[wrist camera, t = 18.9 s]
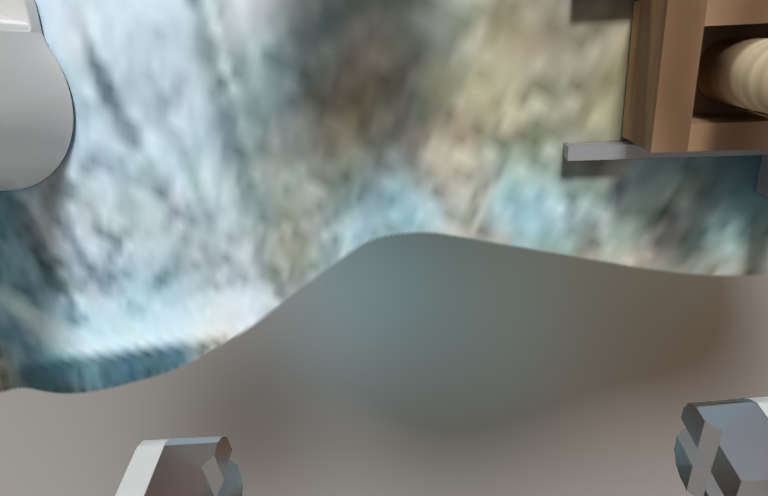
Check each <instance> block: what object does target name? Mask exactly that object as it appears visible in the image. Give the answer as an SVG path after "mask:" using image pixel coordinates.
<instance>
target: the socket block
mask: <svg viewBox="0 0 768 496" xmlns="http://www.w3.org/2000/svg"><path fill="white" fill-rule="evenodd" d="M730 38H768V0H640V1H634V10H633V21H632V32H631V42H630V53H629V64H628V74H627V85H626V96H625V106H624V117H623V128H622V137H624V138H626V139H627V140H629V141H631V142H633V143H634V144H636V145H638V146H640V147H641V148H643V149H645V150H647V151H649V152H650V153H659V152H690V151H722V150H753V149H768V114H767V113H763V112H758V111H754V110H750V109H746V108H741V107H737V106H733V105H729V104H724V103H720V102H716V101H712V100H710V99H708V98H706V97H705V96H703V95H702V94H701V93H700V91H699V90H698V88H697V85H696V84H697V77H698V69H699V62H700V57H701V56H702V55H703V53H704V52H705V51H706V50H707V49H708V48H709V47H711V46H712V45H713V44H715V43H717V42H719V41H721V40H725V39H730Z"/></svg>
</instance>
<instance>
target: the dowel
mask: <svg viewBox="0 0 768 496" xmlns="http://www.w3.org/2000/svg"><path fill="white" fill-rule="evenodd" d="M696 85H697V88H698V90H699V91H700V93H701V94H702V95H703V96H705V97H706V98H708V99H710V100H712V101H716V102H720V103H724V104H729V105H733V106H737V107H741V108H746V109H750V110H754V111H758V112H763V113H767V114H768V38H730V39H725V40H721V41H719V42H717V43H715V44H713V45H712V46H711V47H709V48H708V49H707V50H706V51H705V52H704V53H703V55H702V56H701V57H700V62H699V69H698V77H697V84H696Z"/></svg>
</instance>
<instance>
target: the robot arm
mask: <svg viewBox="0 0 768 496" xmlns="http://www.w3.org/2000/svg"><path fill="white" fill-rule="evenodd" d="M72 131H73V106H72V100H71V95H70V91H69V87H68V84H67V81H66V79H65V76H64V74H63V72H62V69H61V67H60V65H59V63H58V62H57V60H56V58H55V57H54V55H53V53H52V51H51V50H50V48H49V46H48V45H47V43H46V41H45V39H44V37H43V34H42V31H41V26H40V21H39V16H38V12H37V8H36V4H35V1H34V0H0V191H8V190H18V189H23V188H27V187H30V186H33V185H35V184H37V183H39V182H41V181H42V180H44V179H45V178H47V177H48V176H49V175H50V174H52V173H53V172H54V171H55V169H56V168H57V167H58V166H59V165H60V163H61V162H62V160H63V158H64V157H65V155H66V152H67V150H68V148H69V145H70V141H71V137H72ZM681 419H682V421H683V423H684V425H685V427H686V428H685V429H684V430H683V431H681V432H680V433H679V434H678V435H677V436H676V443H675V448H674V452H675V460H676V466H677V469H678V472H679V475H680V478H681V480H682V482H683V484H684V486H685V488H686V490H687V491H688V492H689V493H691V494H692V495H694V496H768V397H758V398H748V399H745V398H740V399H728V400H716V401H705V402H692V403H687V404H686V406H685V407H684V408H683V411H682V415H681ZM231 452H232V448H231V445H230V443H229V441H228V438H227V437H201V438H179V439H164V440H144V441H143V442H142V443H141V444H140V445H139V446H138V447H137V448H136V450H135V452H134V454H133V457H132V459H131V461H130V463H129V465H128V467H127V470H126V472H125V474H124V477H123V479H122V481H121V483H120V485H119V487H118V490H117V492H116V494H115V496H242V491H243V484H242V477H241V473H240V470H239V467H238V465H237V464H235V463H234V462H232V461H231V460H229V459H230V455H231Z"/></svg>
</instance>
